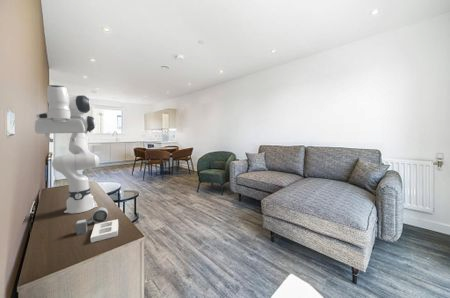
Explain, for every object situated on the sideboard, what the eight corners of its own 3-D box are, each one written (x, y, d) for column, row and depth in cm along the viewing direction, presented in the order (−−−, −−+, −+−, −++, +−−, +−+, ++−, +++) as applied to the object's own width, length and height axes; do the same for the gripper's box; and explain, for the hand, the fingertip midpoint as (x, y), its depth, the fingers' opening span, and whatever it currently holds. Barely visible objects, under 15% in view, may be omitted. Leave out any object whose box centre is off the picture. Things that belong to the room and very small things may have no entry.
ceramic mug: (108, 216, 117) (107, 204, 117) (108, 221, 110) (107, 208, 110) (87, 221, 112) (86, 208, 111) (86, 226, 105) (84, 213, 104)
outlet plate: (95, 228, 102) (94, 224, 101) (118, 223, 107) (118, 219, 107) (90, 242, 88) (90, 237, 87) (117, 235, 93) (117, 231, 93)
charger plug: (78, 231, 99) (77, 220, 98) (87, 229, 101) (86, 218, 100) (76, 235, 95) (75, 223, 95) (86, 232, 97) (85, 221, 97)
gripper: (85, 116, 107) (87, 140, 108) (36, 116, 98) (39, 142, 99) (83, 115, 102) (85, 140, 103) (31, 114, 92) (34, 142, 93)
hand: (62, 141), depth 101 cm, fingers open, 8 cm apart
